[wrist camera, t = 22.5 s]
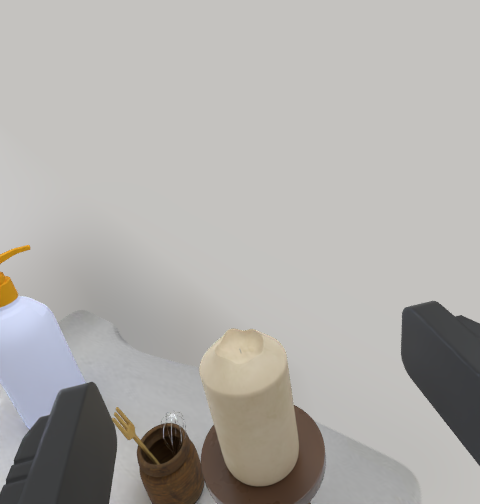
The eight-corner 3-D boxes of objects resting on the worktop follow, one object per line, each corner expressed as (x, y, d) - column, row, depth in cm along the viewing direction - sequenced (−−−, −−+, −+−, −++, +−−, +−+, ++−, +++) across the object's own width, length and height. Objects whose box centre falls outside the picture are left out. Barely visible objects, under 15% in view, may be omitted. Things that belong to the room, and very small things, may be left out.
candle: (239, 502, 25) (207, 390, 20) (214, 435, 29) (185, 332, 25) (314, 466, 26) (300, 353, 21) (279, 407, 31) (262, 305, 26)
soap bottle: (106, 402, 53) (38, 252, 43) (37, 448, 48) (-59, 291, 38) (83, 373, 60) (19, 236, 49) (20, 412, 54) (-66, 268, 44)
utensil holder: (204, 513, 38) (175, 432, 33) (142, 520, 38) (104, 441, 33) (207, 458, 43) (183, 380, 38) (153, 464, 44) (122, 388, 38)
